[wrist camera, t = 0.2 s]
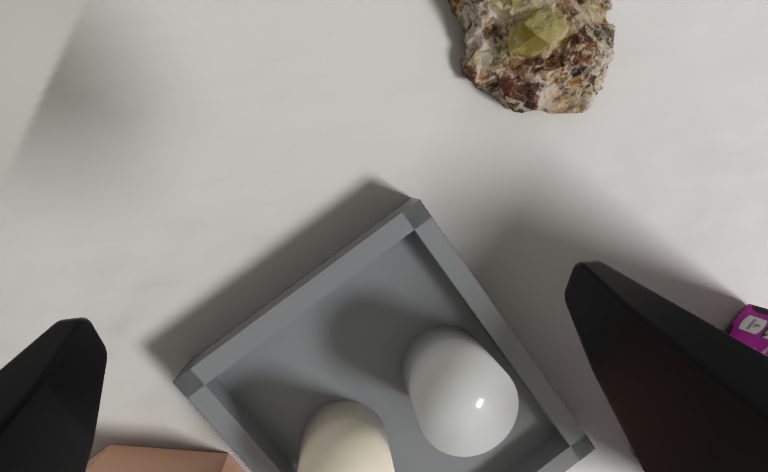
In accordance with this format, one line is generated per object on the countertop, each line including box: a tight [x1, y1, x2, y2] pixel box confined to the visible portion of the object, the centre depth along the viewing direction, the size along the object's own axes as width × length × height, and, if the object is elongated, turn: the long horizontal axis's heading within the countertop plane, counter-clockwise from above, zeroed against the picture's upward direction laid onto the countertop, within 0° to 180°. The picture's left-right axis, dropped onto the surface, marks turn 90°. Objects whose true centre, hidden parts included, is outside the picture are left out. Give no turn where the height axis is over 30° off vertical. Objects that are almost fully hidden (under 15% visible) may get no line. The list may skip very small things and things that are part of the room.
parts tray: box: [173, 198, 596, 472], centre depth 23 cm, size 16×14×2 cm
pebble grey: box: [402, 325, 519, 457], centre depth 22 cm, size 4×4×4 cm
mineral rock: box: [448, 0, 615, 114], centre depth 22 cm, size 11×4×8 cm
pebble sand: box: [297, 400, 395, 472], centre depth 21 cm, size 4×4×4 cm
